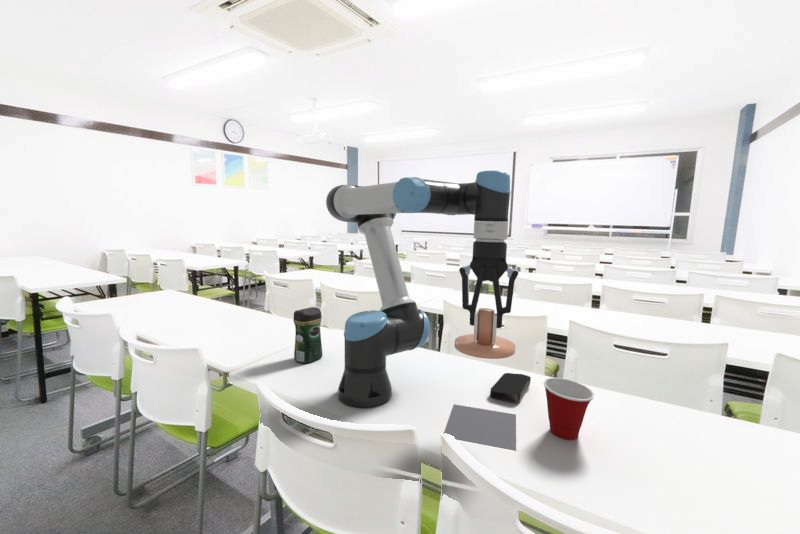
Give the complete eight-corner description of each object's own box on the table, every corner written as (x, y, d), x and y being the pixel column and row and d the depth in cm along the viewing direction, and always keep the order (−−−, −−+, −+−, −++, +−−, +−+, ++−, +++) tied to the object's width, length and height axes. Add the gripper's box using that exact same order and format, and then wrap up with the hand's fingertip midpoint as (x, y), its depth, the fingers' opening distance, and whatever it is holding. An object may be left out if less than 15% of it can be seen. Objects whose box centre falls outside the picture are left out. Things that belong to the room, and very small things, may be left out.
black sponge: (518, 408, 99) (519, 395, 98) (487, 400, 103) (488, 388, 103) (531, 387, 113) (532, 375, 112) (504, 380, 117) (504, 369, 117)
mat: (442, 438, 84) (442, 436, 84) (453, 406, 99) (453, 404, 99) (515, 452, 79) (516, 450, 79) (515, 416, 94) (515, 414, 94)
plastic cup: (593, 454, 79) (597, 401, 78) (539, 441, 83) (542, 391, 82) (588, 428, 89) (592, 381, 88) (540, 419, 93) (544, 373, 92)
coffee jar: (311, 353, 137) (310, 304, 135) (325, 357, 133) (325, 307, 131) (289, 360, 129) (289, 309, 127) (304, 365, 125) (304, 312, 123)
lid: (450, 353, 82) (451, 313, 81) (459, 336, 95) (460, 301, 94) (515, 362, 78) (517, 320, 77) (515, 342, 91) (517, 306, 90)
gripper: (451, 239, 83) (447, 340, 85) (529, 242, 78) (522, 349, 81) (456, 238, 90) (452, 331, 93) (527, 241, 85) (521, 339, 88)
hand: (484, 339), depth 87 cm, fingers closed on lid, 3 cm apart
